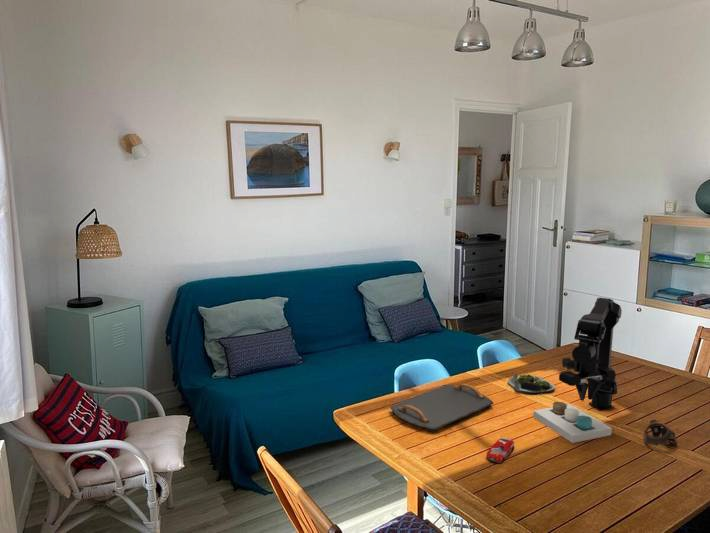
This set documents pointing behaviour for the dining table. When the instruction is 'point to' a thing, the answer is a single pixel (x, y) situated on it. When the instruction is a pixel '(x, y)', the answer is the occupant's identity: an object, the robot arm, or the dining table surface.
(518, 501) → the dining table surface
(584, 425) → the key teal
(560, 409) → the key walnut
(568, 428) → the keypad
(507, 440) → the race car
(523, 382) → the salad plate
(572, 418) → the key ivory
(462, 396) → the serving board
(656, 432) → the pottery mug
